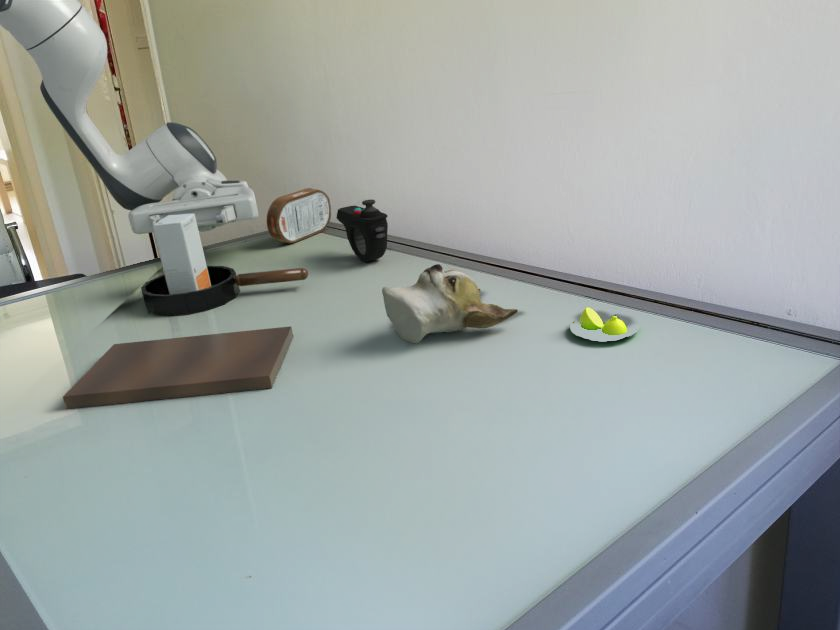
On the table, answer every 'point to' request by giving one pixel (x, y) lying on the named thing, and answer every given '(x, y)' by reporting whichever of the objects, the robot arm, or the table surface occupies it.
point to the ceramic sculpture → (439, 305)
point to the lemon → (594, 322)
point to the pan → (210, 290)
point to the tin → (298, 215)
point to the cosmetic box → (181, 253)
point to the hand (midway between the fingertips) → (189, 223)
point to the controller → (365, 230)
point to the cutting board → (183, 367)
